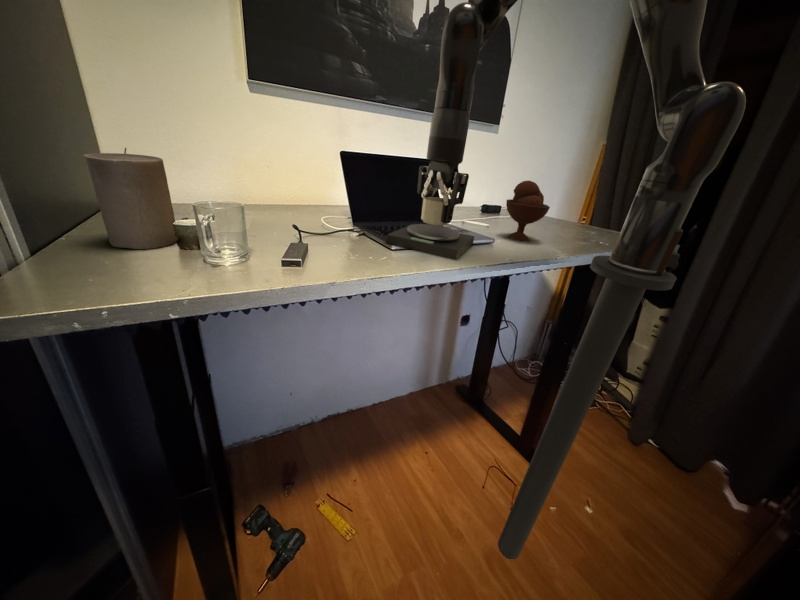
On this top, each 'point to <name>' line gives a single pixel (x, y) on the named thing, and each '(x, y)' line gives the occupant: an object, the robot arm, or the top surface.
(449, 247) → the scale
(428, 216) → the squat beige cylinder
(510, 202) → the ice cream bowl
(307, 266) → the top surface
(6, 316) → the top surface
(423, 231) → the scale pan
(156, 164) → the pillar candle
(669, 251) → the robot arm
